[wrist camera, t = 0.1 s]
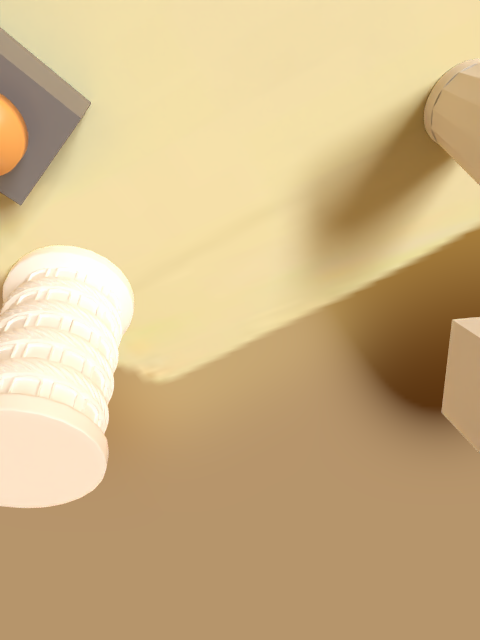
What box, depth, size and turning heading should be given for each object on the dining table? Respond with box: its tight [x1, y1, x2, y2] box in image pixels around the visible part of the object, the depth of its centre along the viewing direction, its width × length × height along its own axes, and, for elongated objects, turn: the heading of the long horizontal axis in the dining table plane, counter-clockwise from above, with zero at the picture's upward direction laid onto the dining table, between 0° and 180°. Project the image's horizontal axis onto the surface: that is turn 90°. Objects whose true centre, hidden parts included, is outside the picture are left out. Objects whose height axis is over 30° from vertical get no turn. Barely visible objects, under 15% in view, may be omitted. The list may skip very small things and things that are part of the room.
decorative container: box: [0, 245, 134, 508], centre depth 35 cm, size 12×12×18 cm
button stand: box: [0, 28, 91, 205], centre depth 30 cm, size 8×8×4 cm
